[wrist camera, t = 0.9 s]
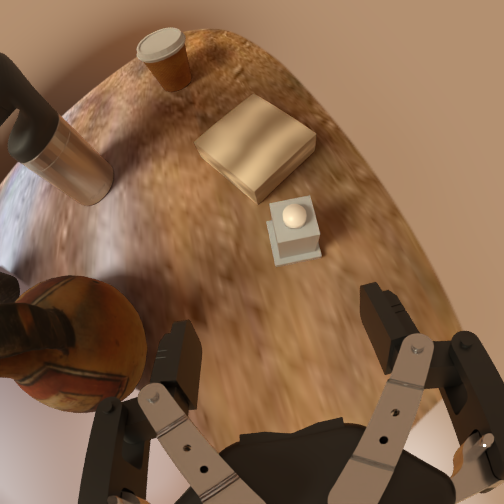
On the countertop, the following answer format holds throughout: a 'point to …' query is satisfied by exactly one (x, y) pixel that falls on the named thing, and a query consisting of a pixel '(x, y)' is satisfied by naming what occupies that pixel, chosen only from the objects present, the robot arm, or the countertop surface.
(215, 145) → the birch block
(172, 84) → the disposable coffee cup
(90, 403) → the ceramic pitcher
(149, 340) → the countertop surface
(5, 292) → the travel mug
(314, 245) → the grey box with knob
